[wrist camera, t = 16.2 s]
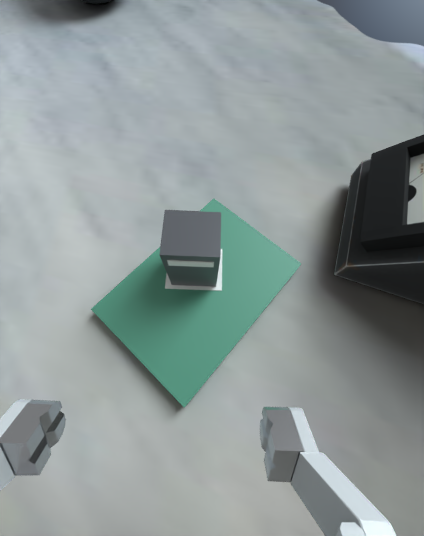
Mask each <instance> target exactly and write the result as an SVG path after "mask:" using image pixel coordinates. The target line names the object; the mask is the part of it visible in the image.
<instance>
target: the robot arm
mask: <svg viewBox="0 0 424 536" xmlns="http://www.w3.org/2000/svg"><path fill="white" fill-rule="evenodd" d="M61 408H62V405H61V402H60V401H47V400H28V399H19V400H17V401H16V402H14V403H13V404H12V406H11V407H10V408H9V409H8V410H7V412H6V413H5V414H4V415H3V416H2V417H1V419H0V491H1V490H2V489H3V488H4V487H5V486H6V485H7V484H8V483H9V482H10V481H11V480H12V479H13V478H15V475H40V473H41V471H42V470H43V468H44V466H45V464H46V463H47V461H48V459H49V457H50V455H51V447H52V446H54V445H55V444H56V443H57V442H58V441H59V439H60V437H61V436H62V434H63V431H64V428H65V421H66V419H65V415H64V414H63V413H62V412H61V411H60V409H61ZM262 415H263V419H262V420H261V421H260V440H261V446H262V448H263V450H264V451H265V452H266V453H265V458H264V463H265V468H266V474H267V479H268V481H276V482H291V485H292V487H293V488H294V489H295V491H296V492H297V494H298V495H299V497H300V498H301V500H302V501H303V503H304V504H305V506H306V507H307V509H308V510H309V512H310V513H311V515H312V516H313V518H314V519H315V521H316V522H317V524H318V525H319V527H320V528H321V530H322V531H323V533H324V534H325V536H396V534H395V532H394V530H393V528H392V526H391V524H390V522H389V521H388V520H387V519H386V518H385V517H384V516H383V515H382V514H381V513H380V512H379V511H378V509H377V508H376V507H375V506H374V505H373V504H372V503H371V502H370V501H369V500H368V499H367V498H366V497H365V496H364V495H363V494H362V493H361V492H360V491H359V490H358V489H357V487H356V486H355V485H354V484H353V483H352V482H351V481H350V480H349V479H348V478H347V477H346V476H345V475H344V474H343V473H342V472H341V471H340V470H339V469H338V468H337V467H336V466H335V464H334V463H333V462H332V461H331V460H330V459H329V458H328V457H327V456H326V455H325V454H324V453H321V452H319V450H318V448H317V445H316V443H315V440H314V437H313V435H312V432H311V429H310V427H309V424H308V422H307V419H306V416H305V414H304V411H303V410H302V408H288V407H264V408H263V410H262Z"/></svg>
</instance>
